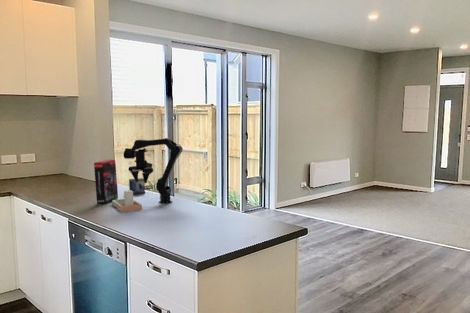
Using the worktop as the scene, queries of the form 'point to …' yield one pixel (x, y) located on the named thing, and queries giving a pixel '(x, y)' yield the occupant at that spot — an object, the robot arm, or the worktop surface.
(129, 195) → the cream rectangular block
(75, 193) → the worktop surface
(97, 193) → the graphics card box
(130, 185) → the small box
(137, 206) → the frame
